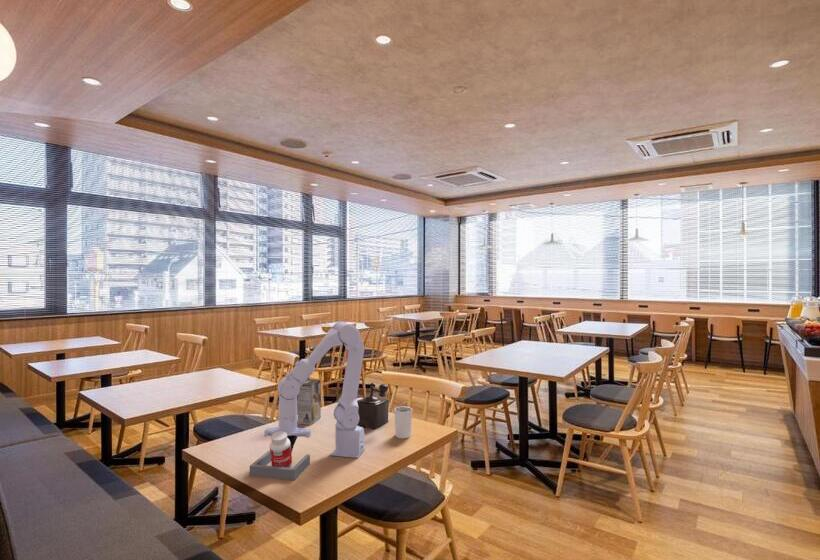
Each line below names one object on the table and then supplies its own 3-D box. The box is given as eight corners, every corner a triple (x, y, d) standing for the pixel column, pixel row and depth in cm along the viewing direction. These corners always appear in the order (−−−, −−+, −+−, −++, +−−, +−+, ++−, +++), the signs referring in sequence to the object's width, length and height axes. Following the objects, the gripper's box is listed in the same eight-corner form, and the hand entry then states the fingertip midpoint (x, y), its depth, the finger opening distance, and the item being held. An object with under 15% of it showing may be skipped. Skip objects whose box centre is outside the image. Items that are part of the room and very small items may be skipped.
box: (309, 464, 140) (310, 454, 140) (294, 480, 129) (294, 470, 129) (268, 460, 142) (268, 450, 142) (249, 475, 131) (249, 465, 131)
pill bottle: (273, 475, 132) (269, 443, 129) (270, 463, 138) (267, 432, 135) (294, 469, 135) (291, 438, 132) (290, 457, 140) (287, 427, 137)
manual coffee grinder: (352, 425, 175) (352, 380, 175) (368, 417, 185) (368, 375, 184) (384, 433, 167) (384, 386, 167) (399, 424, 177) (399, 380, 176)
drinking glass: (408, 440, 160) (408, 412, 160) (391, 437, 163) (391, 410, 163) (414, 433, 167) (414, 407, 166) (398, 431, 169) (398, 405, 169)
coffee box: (306, 416, 185) (307, 378, 185) (321, 417, 184) (321, 379, 184) (297, 423, 176) (297, 384, 176) (311, 425, 175) (312, 385, 175)
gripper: (313, 412, 144) (313, 454, 144) (270, 411, 144) (270, 452, 145) (307, 420, 137) (307, 463, 137) (261, 418, 137) (261, 461, 138)
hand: (287, 458), depth 140 cm, fingers closed, pressing on pill bottle
